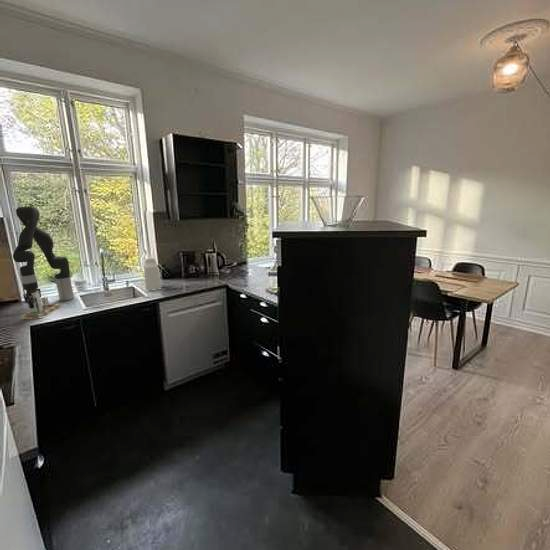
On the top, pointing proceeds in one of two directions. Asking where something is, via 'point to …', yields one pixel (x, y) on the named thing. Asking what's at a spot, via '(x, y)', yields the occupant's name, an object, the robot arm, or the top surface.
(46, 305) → the steel pin
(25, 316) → the hole bar
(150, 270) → the milk
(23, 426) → the top surface
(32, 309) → the syrup box
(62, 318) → the top surface
